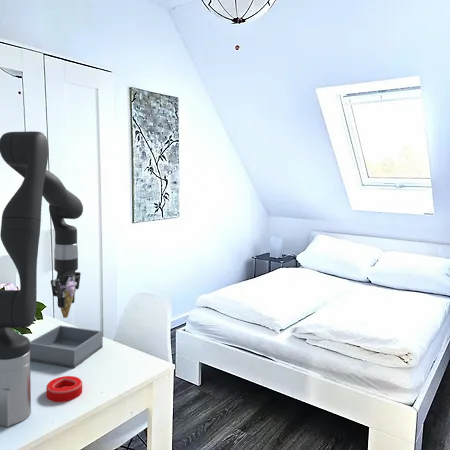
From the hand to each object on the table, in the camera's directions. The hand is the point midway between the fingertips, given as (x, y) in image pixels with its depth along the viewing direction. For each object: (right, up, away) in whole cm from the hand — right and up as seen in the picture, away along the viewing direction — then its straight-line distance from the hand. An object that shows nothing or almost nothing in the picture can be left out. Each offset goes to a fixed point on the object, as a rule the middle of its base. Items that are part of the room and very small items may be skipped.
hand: (66, 304), depth 145 cm
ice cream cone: (0, -5, 0) cm, 5 cm away
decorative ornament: (+8, -21, -23) cm, 33 cm away
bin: (-1, -17, +2) cm, 18 cm away
